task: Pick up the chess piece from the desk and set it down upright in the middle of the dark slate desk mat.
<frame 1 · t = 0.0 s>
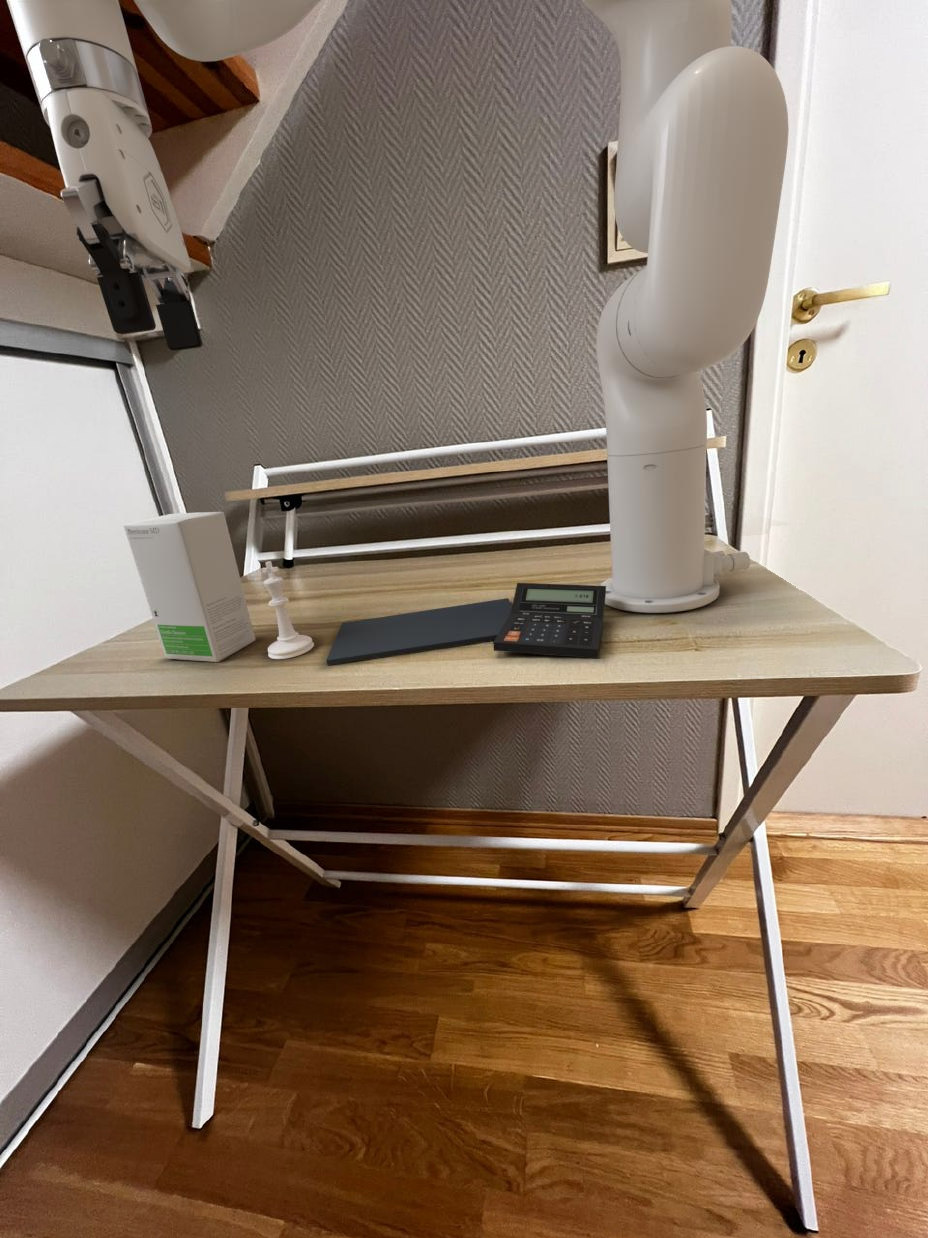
hand: (163, 340, 48), 31 cm above the table, tool pointing down, fingers open, 9 cm apart
calculator: (553, 631, 53), on the table, touching desk mat
cosmetic box: (214, 651, 63), on the table
desk mat: (426, 631, 59), on the table
chess piece: (291, 651, 59), on the table
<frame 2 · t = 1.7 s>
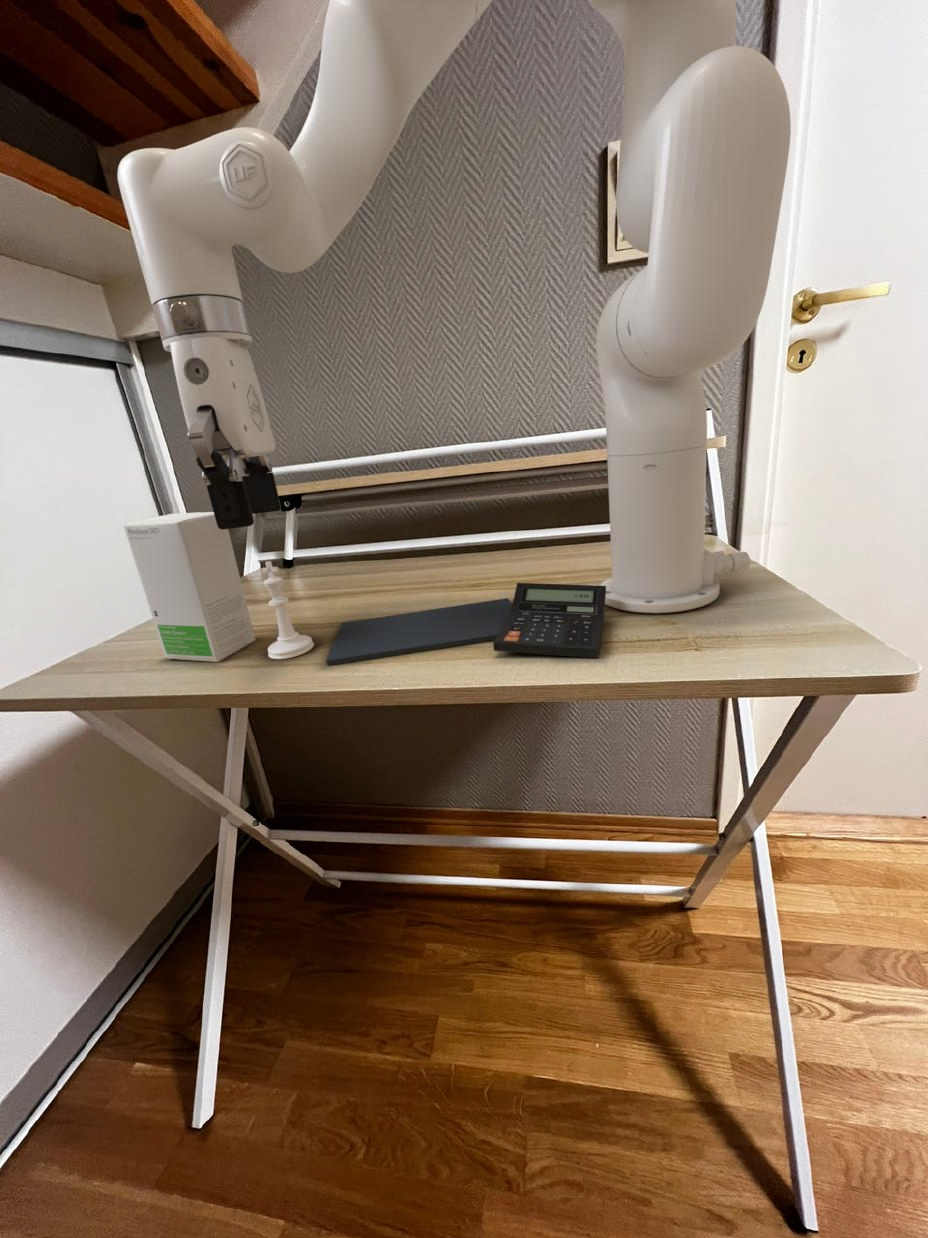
hand: (252, 518, 54), 15 cm above the table, tool pointing down, fingers open, 9 cm apart
nothing on the table moved.
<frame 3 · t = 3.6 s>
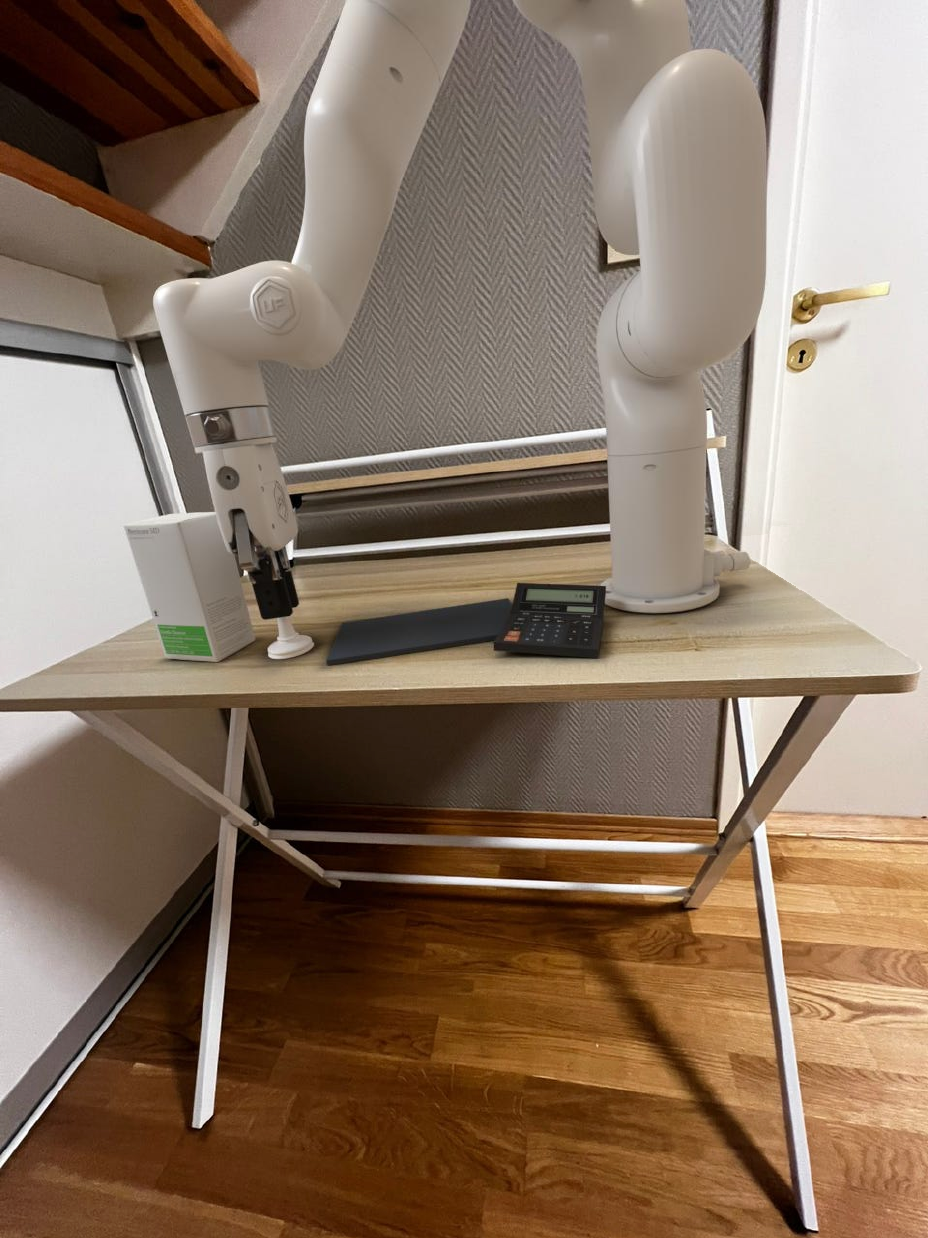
hand: (281, 611, 57), 5 cm above the table, tool pointing down, fingers closed on chess piece
chess piece: (291, 651, 59), on the table, touching gripper
everything else where it was.
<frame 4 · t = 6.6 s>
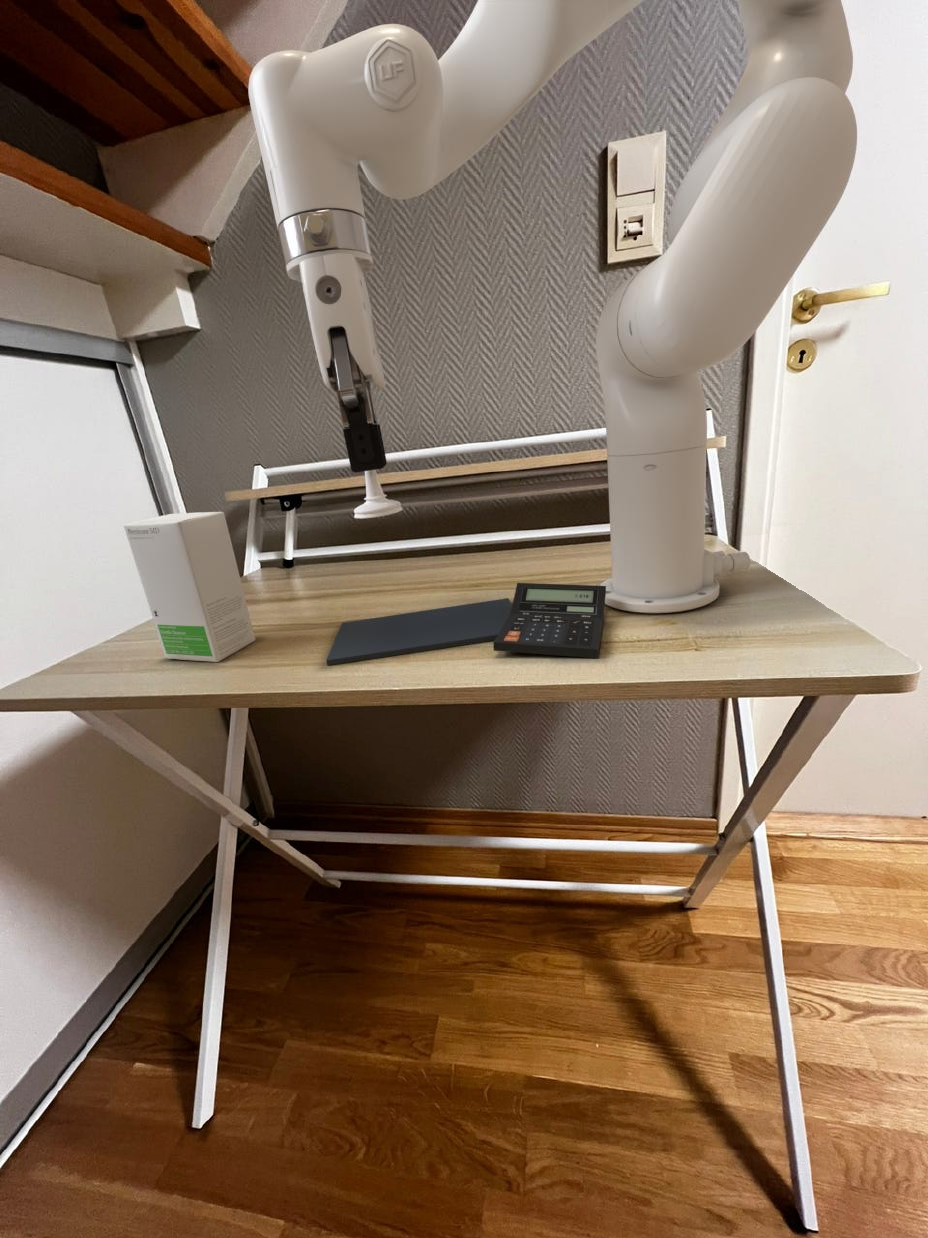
hand: (369, 467, 53), 18 cm above the table, tool pointing down, fingers closed on chess piece
chess piece: (379, 515, 54), point 13 cm above the table, touching gripper
everything else where it was.
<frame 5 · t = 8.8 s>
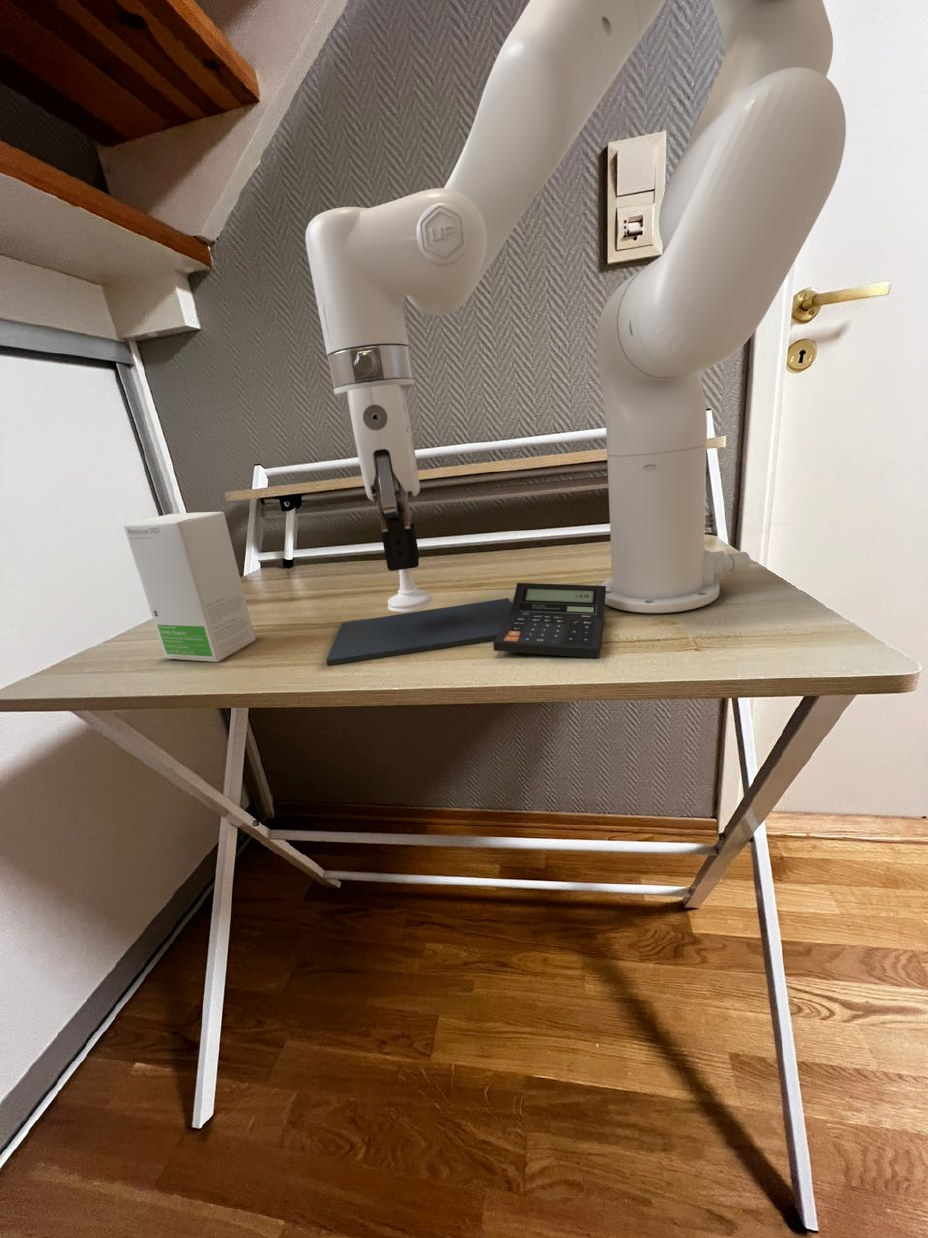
hand: (404, 563, 56), 8 cm above the table, tool pointing down, fingers closed on chess piece
chess piece: (411, 606, 58), point 3 cm above the table, touching gripper
everything else where it was.
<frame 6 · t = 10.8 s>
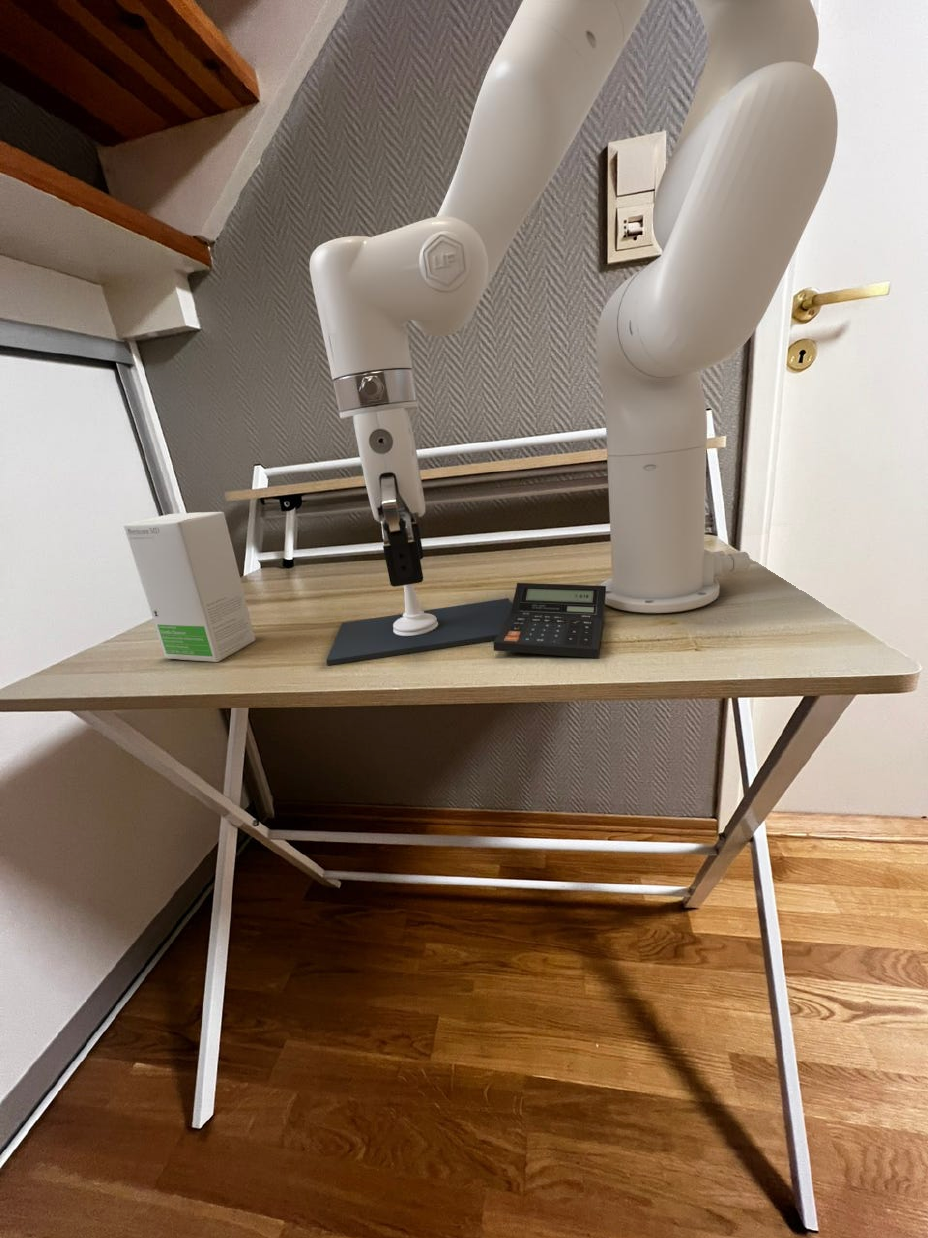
hand: (408, 571, 56), 7 cm above the table, tool pointing down, fingers open, 9 cm apart
chess piece: (416, 629, 59), resting on desk mat
everything else where it was.
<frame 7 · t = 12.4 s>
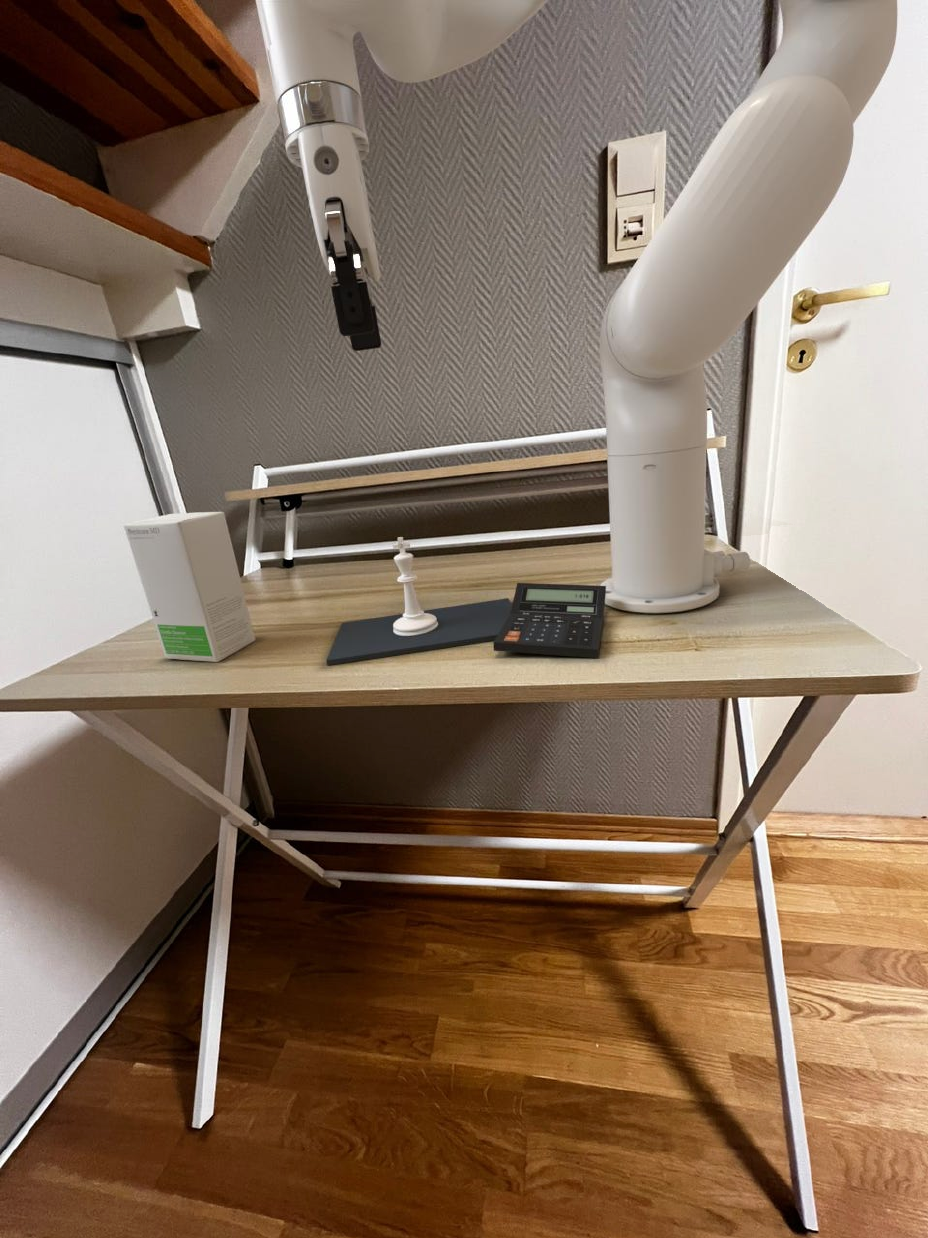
hand: (363, 341, 54), 30 cm above the table, tool pointing down, fingers open, 9 cm apart
nothing on the table moved.
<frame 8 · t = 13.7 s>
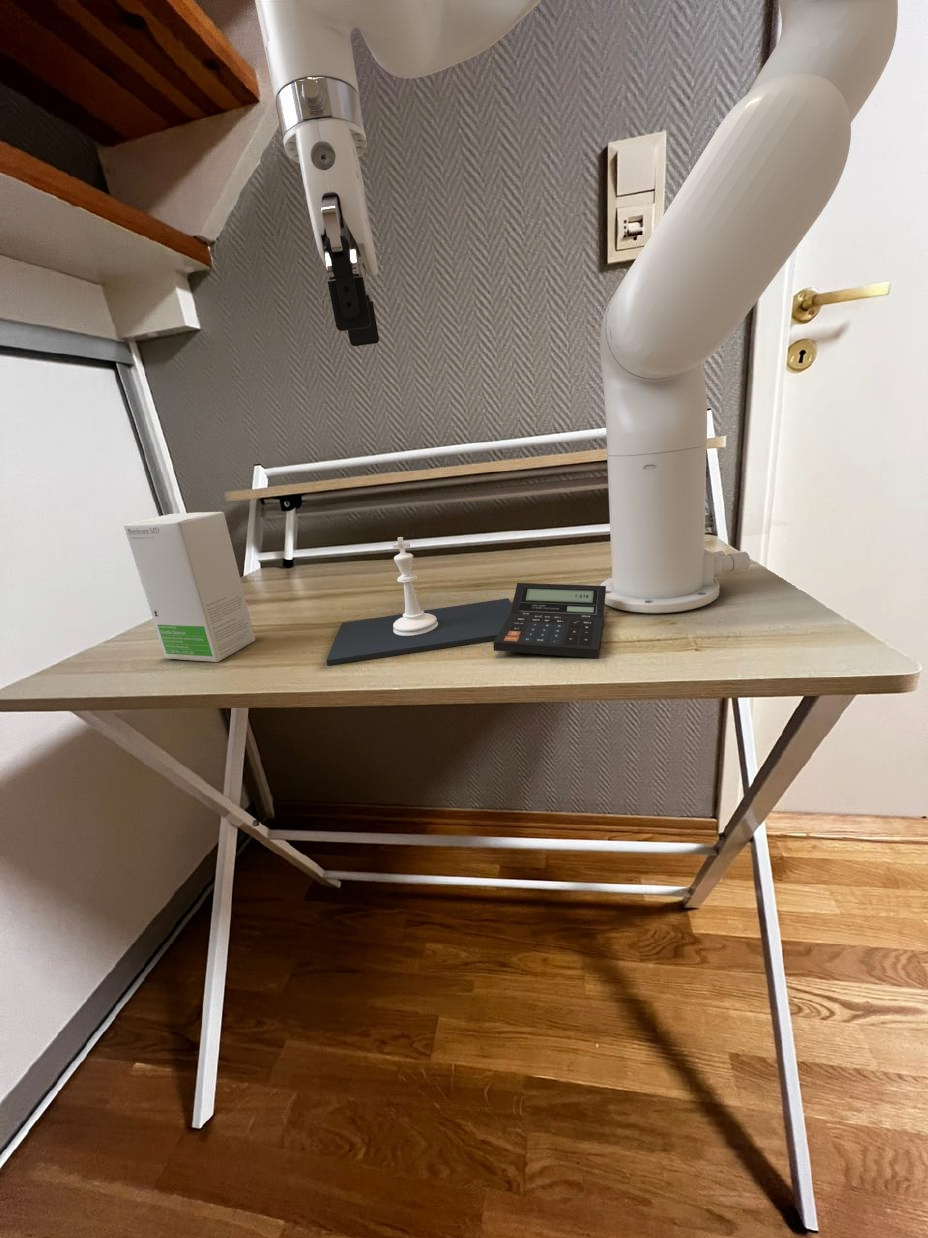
hand: (360, 337, 55), 30 cm above the table, tool pointing down, fingers open, 9 cm apart
nothing on the table moved.
at the end: chess piece inside the target area on the desk mat (1.1 cm from its centre), point 0.4 cm above the desk mat's base; chess piece tilted 0°; the gripper is holding nothing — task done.
